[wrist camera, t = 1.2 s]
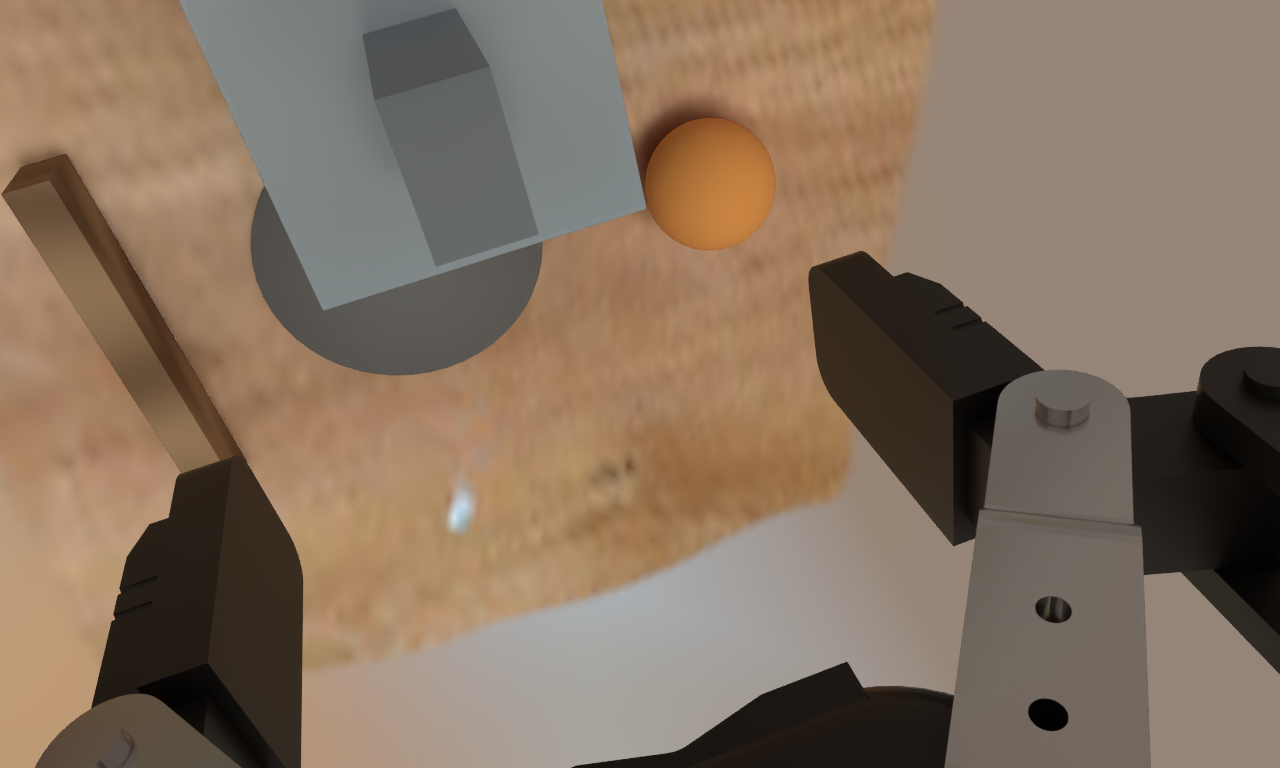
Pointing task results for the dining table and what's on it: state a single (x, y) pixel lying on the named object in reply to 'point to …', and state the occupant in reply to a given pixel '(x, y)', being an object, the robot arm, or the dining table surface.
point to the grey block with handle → (423, 128)
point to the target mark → (394, 306)
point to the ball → (710, 184)
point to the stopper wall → (118, 310)
